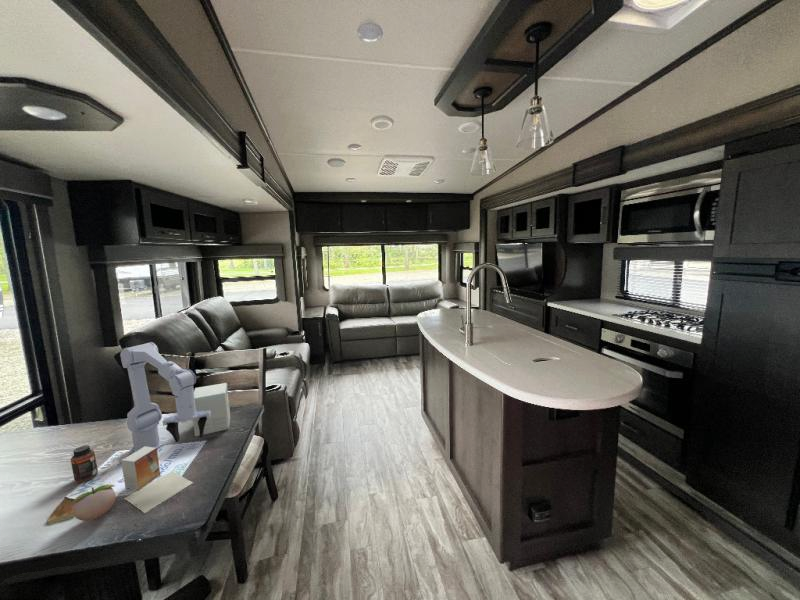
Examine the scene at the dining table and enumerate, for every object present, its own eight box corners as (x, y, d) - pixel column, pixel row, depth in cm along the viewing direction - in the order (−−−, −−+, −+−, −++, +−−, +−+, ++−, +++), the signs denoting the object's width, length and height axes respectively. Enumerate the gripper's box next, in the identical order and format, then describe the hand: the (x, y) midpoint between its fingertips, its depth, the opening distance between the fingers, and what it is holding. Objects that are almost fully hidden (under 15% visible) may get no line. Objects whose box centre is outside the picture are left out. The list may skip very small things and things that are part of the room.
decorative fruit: (81, 536, 86) (75, 504, 85) (71, 524, 90) (65, 493, 89) (124, 511, 94) (119, 482, 93) (112, 501, 98) (108, 473, 97)
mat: (124, 499, 99) (124, 498, 99) (172, 472, 112) (171, 471, 112) (144, 513, 94) (144, 512, 94) (193, 483, 106) (192, 482, 106)
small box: (138, 490, 103) (133, 462, 102) (124, 488, 104) (120, 460, 103) (161, 474, 111) (157, 447, 109) (148, 472, 112) (144, 445, 110)
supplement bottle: (102, 473, 112) (97, 444, 110) (81, 485, 106) (75, 455, 105) (92, 470, 114) (87, 441, 112) (70, 481, 108) (65, 451, 106)
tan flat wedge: (65, 500, 100) (64, 495, 100) (96, 492, 103) (95, 487, 103) (45, 526, 90) (44, 521, 90) (80, 516, 94) (79, 511, 93)
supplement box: (231, 415, 151) (227, 382, 149) (229, 429, 139) (225, 392, 137) (199, 422, 146) (194, 387, 143) (194, 437, 134) (189, 399, 131)
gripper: (157, 413, 107) (162, 449, 109) (206, 405, 112) (210, 439, 114) (164, 404, 113) (169, 438, 115) (210, 397, 118) (213, 430, 120)
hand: (189, 438), depth 115 cm, fingers open, 7 cm apart
